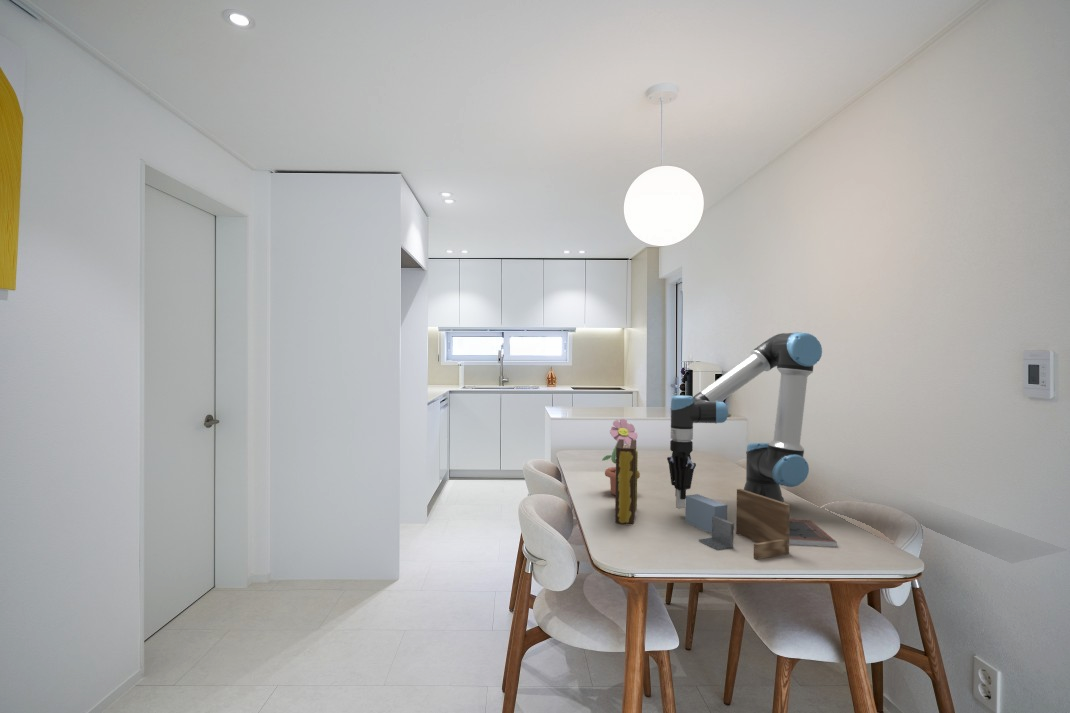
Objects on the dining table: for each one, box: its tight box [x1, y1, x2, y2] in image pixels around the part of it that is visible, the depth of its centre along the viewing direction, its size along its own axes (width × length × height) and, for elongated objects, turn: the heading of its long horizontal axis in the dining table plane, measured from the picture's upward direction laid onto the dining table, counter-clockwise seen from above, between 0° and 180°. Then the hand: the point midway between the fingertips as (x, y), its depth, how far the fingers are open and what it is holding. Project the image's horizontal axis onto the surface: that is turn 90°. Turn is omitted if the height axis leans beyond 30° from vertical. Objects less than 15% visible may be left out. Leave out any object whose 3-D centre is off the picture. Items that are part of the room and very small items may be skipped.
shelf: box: [735, 488, 791, 560], centre depth 162 cm, size 12×19×14 cm, turn 23°
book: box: [614, 439, 640, 525], centre depth 191 cm, size 22×8×25 cm, turn 168°
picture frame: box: [789, 518, 838, 547], centre depth 173 cm, size 16×2×22 cm
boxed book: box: [684, 493, 728, 535], centre depth 178 cm, size 5×14×9 cm, turn 23°
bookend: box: [698, 516, 735, 551], centre depth 162 cm, size 6×8×7 cm
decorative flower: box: [601, 418, 641, 496], centre depth 218 cm, size 15×14×30 cm
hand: (680, 507), depth 190 cm, fingers closed
